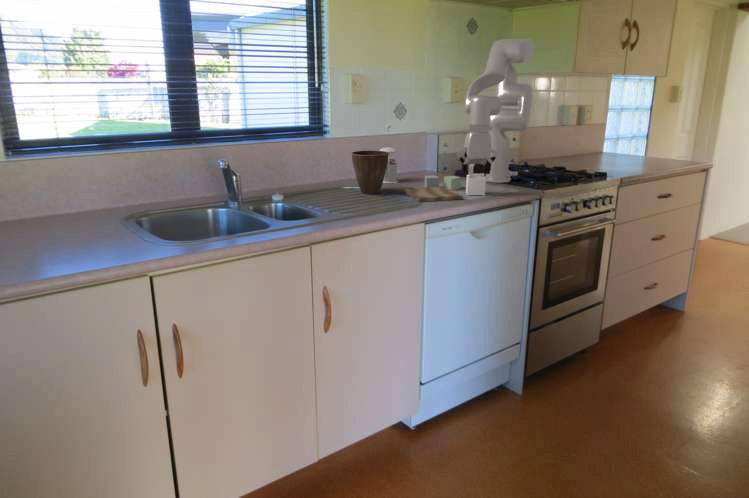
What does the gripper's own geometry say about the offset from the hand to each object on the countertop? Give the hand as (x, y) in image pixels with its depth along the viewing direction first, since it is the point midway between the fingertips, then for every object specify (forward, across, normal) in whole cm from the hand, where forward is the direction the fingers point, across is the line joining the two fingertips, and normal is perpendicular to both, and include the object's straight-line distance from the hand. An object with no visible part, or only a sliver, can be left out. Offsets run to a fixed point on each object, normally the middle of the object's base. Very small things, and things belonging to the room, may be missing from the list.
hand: (475, 173), depth 207 cm
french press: (+8, +26, -34) cm, 44 cm away
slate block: (+8, +12, -16) cm, 22 cm away
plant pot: (+9, +39, -15) cm, 43 cm away
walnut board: (+8, +17, -2) cm, 19 cm away
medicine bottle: (+8, -1, -1) cm, 8 cm away
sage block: (+8, +4, -13) cm, 16 cm away
